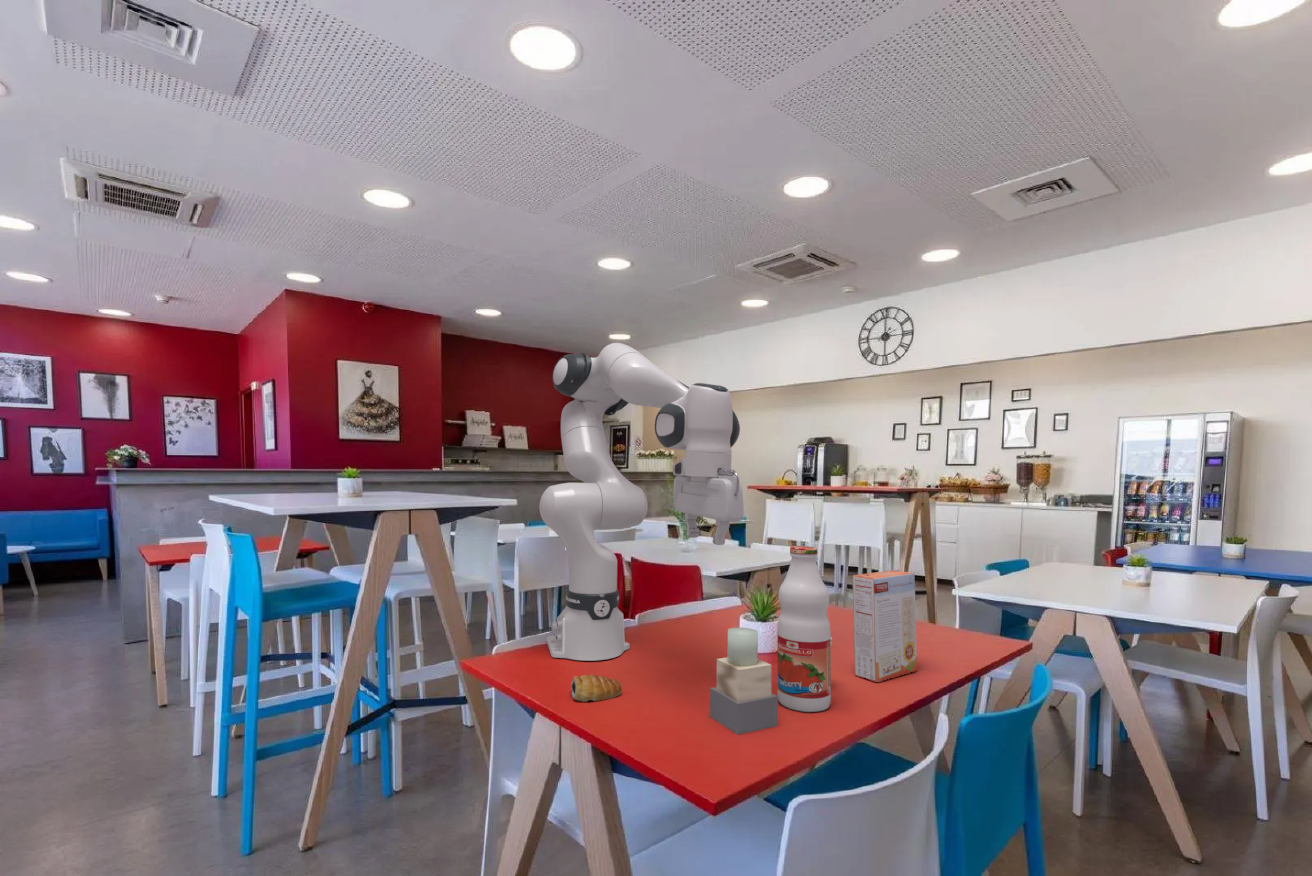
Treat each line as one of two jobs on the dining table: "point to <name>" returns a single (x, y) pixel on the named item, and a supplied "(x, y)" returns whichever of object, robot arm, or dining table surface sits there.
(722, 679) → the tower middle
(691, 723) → the dining table surface
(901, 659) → the cracker box
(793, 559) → the fruit juice
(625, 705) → the dining table surface
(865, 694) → the dining table surface
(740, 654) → the grey round cylinder
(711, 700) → the tower base
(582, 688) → the pastry
